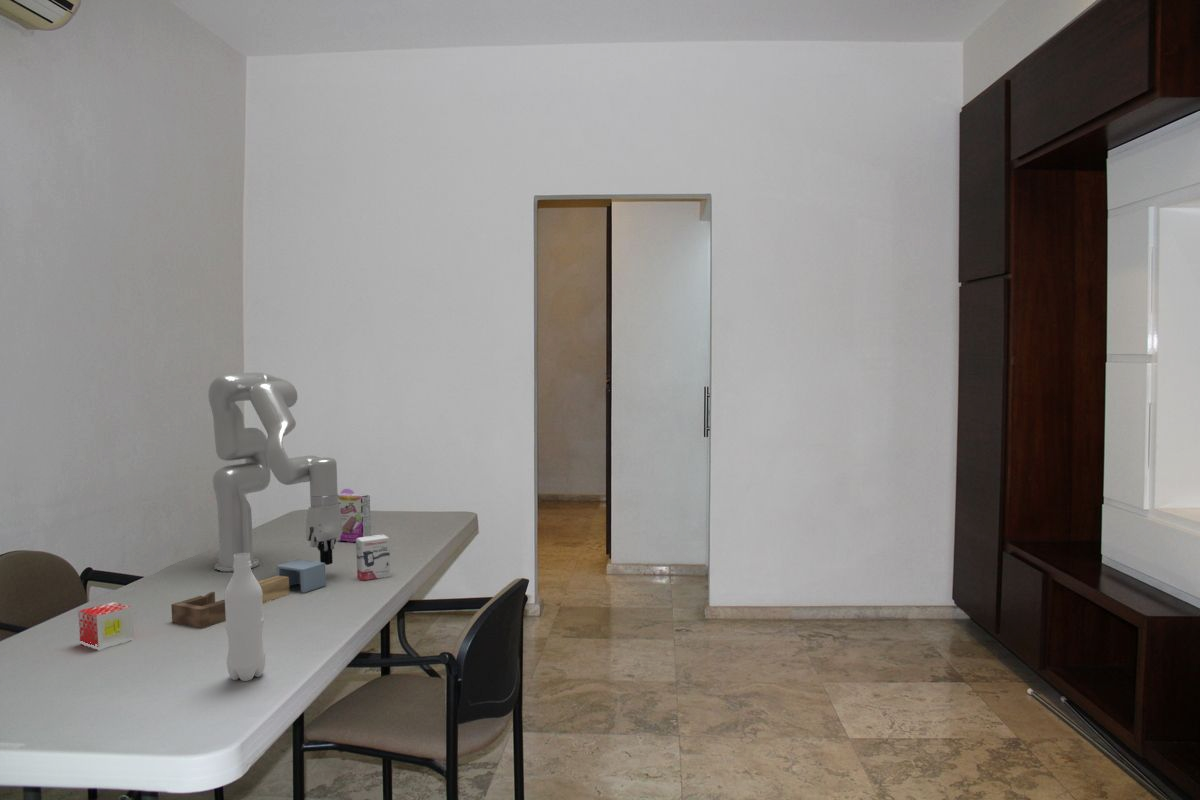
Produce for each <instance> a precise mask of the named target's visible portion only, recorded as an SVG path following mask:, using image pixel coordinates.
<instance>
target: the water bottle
mask: <svg viewBox="0 0 1200 800" xmlns="http://www.w3.org/2000/svg"><path fill="white" fill-rule="evenodd" d="M250 562H251V561H250V554H249V553H239V554H235V555H234V563H233V564H234V565H233V568H234V571H233V572H232V573H233V574H232V575H231V578H230V580H229V582H228V583H227V587H226V588H225V591H224V595H223V596H224V598H223V600H225V614H226V620H225V621H224V624H225V626H224V627H225V630H226V634H227V639H228V640H227V642H228V652H227V657H226V668H227V673H228V675H229V677H230V678H231V680H233V681H238V680H239V679H240V680H241V681H243V682H249V681H251V680H253V678H254V676H255V677H256V678H259V677H261V676H262V674H263V673H264V671H265V667H266V653H265V648H264V644H263V628H264V622H265V619H264V611H263V609H264V608H263V604H262V595H263V593H262V589H261V586H260V584H259V583H258V582H259V581H258V580H257V578H256V577H255V575H254V573H253V572H252V568H251V566H252V564H251V563H250Z"/></svg>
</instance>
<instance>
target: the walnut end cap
mask: <svg viewBox="0 0 1200 800" xmlns="http://www.w3.org/2000/svg"><path fill="white" fill-rule="evenodd" d="M170 606H171V622H172V623H173V622H175V623H174V624H178V623H179V625H185V626H188V625H189V626H188V627H193V626H195V628H198V627H200V628H199V629H205V628H207V626H208V627H211V626H213V625H216V624H219V623H222V622H226V614H225V600H224V599H221V600H219V601H216V592H215V591H210V592H208V593H207V594H205V595H204V596H202V595H197V596H195V597H191V598H188V599H185V600H182V601H181V600H180V601H178V602H175V603H171V605H170ZM218 622H219V623H218ZM215 623H216V624H215ZM204 627H205V628H204Z"/></svg>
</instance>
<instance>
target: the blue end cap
mask: <svg viewBox="0 0 1200 800" xmlns="http://www.w3.org/2000/svg"><path fill="white" fill-rule="evenodd" d="M275 570H276V572H275V574H276V576H286V577H289V587H291V586H294V585H300V592H301V593H308V592H310V591H311V592H312V591H314V590H318V589H320V588H322V587H323V588H324V587H325V586H327V579H326V578H327V576H326V565H325V563H322V562H320V561H313V560H306V559H294V560H291V561H288V562H285V563H280V564H278V565H276V566H275Z"/></svg>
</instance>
